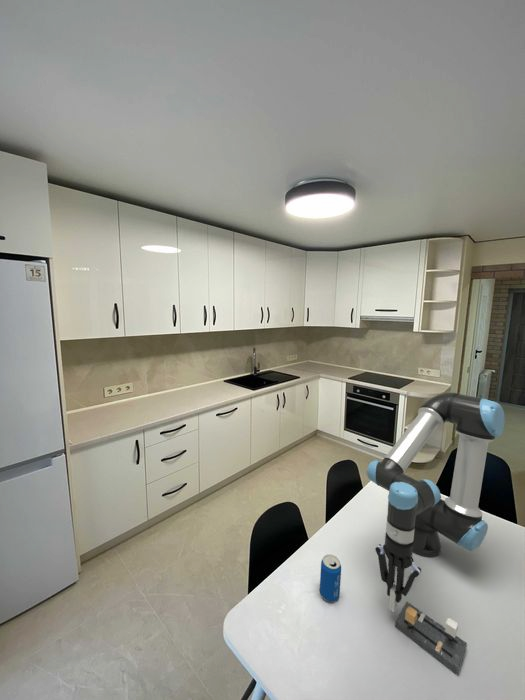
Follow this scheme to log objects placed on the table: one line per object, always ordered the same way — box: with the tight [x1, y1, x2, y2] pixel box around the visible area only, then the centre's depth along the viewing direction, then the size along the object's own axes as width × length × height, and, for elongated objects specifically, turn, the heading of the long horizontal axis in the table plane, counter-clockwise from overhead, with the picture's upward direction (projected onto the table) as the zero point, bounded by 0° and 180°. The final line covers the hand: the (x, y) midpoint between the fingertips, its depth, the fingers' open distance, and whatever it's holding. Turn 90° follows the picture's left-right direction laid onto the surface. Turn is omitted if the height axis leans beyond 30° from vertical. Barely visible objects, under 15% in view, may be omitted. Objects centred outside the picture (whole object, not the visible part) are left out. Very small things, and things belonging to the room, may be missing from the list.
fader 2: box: [444, 616, 459, 640], centre depth 82 cm, size 2×2×4 cm
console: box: [394, 601, 468, 676], centre depth 83 cm, size 16×9×2 cm, turn 43°
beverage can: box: [319, 553, 342, 603], centre depth 95 cm, size 6×6×12 cm
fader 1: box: [405, 606, 417, 627], centre depth 85 cm, size 2×2×4 cm
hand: (393, 607), depth 88 cm, fingers closed
